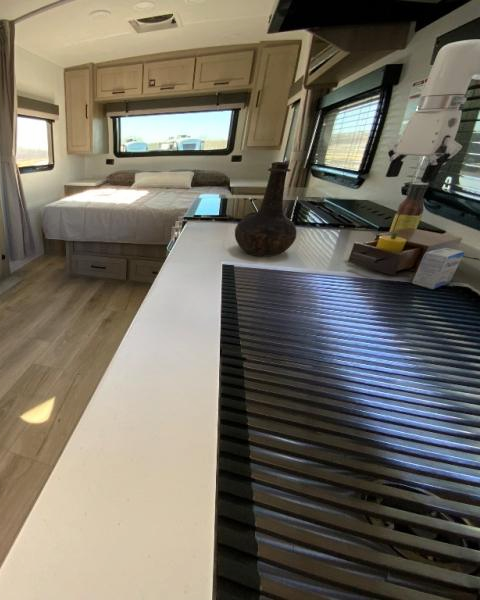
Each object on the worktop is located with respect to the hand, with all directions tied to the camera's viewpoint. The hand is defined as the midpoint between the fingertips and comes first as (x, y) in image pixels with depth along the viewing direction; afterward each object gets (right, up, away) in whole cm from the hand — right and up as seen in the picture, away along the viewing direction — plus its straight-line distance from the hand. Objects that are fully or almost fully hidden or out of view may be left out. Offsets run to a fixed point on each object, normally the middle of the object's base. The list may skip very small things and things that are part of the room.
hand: (408, 179), depth 88 cm
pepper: (-1, -21, +7) cm, 22 cm away
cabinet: (+11, -20, +11) cm, 26 cm away
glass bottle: (-27, -16, +23) cm, 39 cm away
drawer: (-1, -22, +7) cm, 23 cm away
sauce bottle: (+19, -14, +24) cm, 33 cm away
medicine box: (+3, -28, -3) cm, 29 cm away
